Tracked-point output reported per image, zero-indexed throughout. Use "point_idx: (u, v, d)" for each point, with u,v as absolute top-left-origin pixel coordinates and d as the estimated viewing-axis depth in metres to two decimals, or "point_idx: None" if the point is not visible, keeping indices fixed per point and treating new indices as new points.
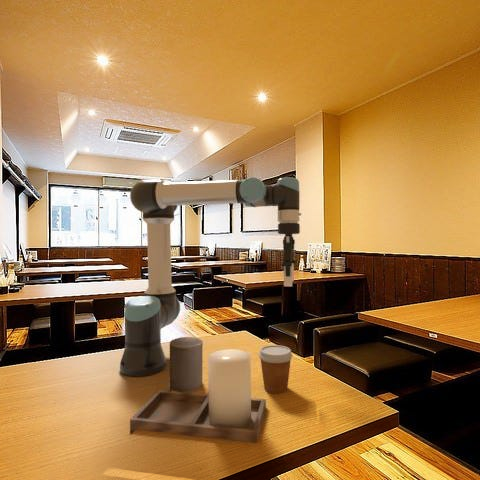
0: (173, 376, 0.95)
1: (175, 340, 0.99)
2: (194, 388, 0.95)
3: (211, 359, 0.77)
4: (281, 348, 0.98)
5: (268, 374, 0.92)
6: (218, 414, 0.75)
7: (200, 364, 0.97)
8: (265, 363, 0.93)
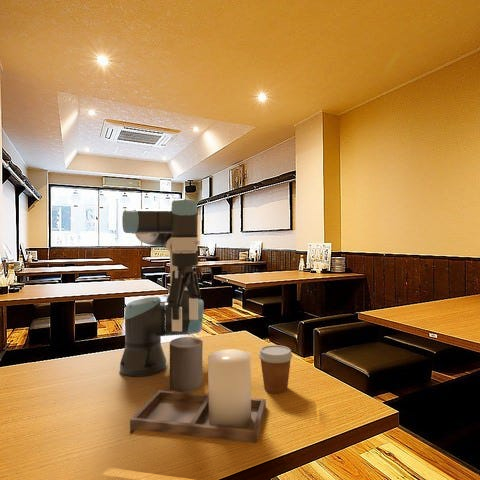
0: (173, 376, 0.95)
1: (175, 340, 0.99)
2: (194, 388, 0.95)
3: (211, 359, 0.77)
4: (281, 348, 0.98)
5: (268, 374, 0.92)
6: (218, 414, 0.75)
7: (200, 364, 0.97)
8: (265, 363, 0.93)
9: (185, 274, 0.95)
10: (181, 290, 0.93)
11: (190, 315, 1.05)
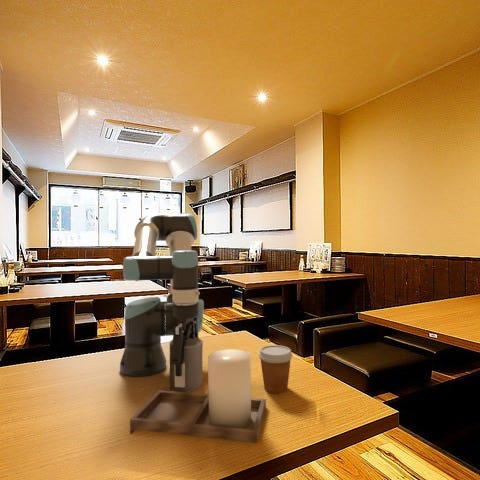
0: (173, 376, 0.95)
1: None
2: (194, 388, 0.95)
3: (211, 359, 0.77)
4: (281, 348, 0.98)
5: (268, 374, 0.92)
6: (218, 414, 0.75)
7: (200, 364, 0.97)
8: (265, 363, 0.93)
9: (186, 326, 0.96)
10: (183, 345, 0.94)
11: None
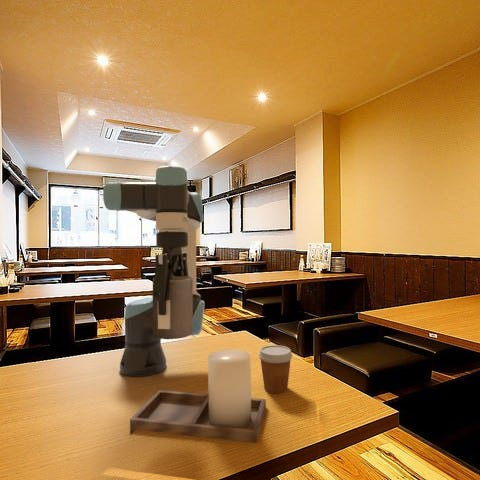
0: (157, 316, 0.78)
1: None
2: (182, 331, 0.78)
3: (211, 359, 0.77)
4: (281, 348, 0.98)
5: (268, 374, 0.92)
6: (218, 414, 0.75)
7: (189, 304, 0.80)
8: (265, 363, 0.93)
9: (172, 257, 0.79)
10: (168, 279, 0.77)
11: None
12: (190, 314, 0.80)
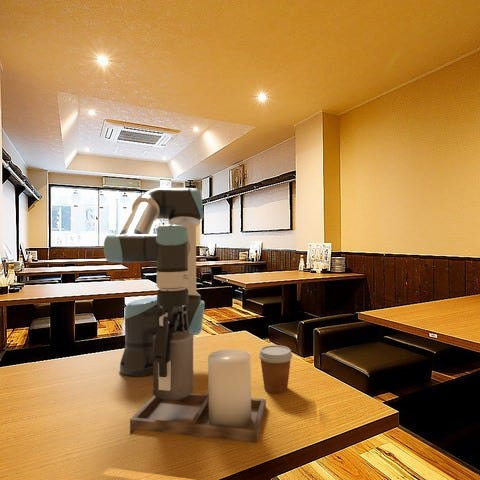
0: (157, 376, 0.78)
1: None
2: (182, 391, 0.78)
3: (211, 359, 0.77)
4: (281, 348, 0.98)
5: (268, 374, 0.92)
6: (218, 414, 0.75)
7: (190, 362, 0.80)
8: (265, 363, 0.93)
9: (172, 316, 0.79)
10: (169, 339, 0.77)
11: None
12: (191, 372, 0.80)
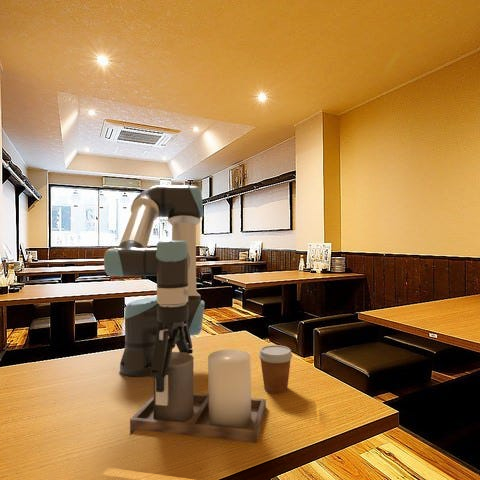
0: None
1: None
2: (183, 415, 0.78)
3: (211, 359, 0.77)
4: (281, 348, 0.98)
5: (268, 374, 0.92)
6: (218, 414, 0.75)
7: (190, 386, 0.80)
8: (265, 363, 0.93)
9: (172, 332, 0.79)
10: (167, 354, 0.76)
11: None
12: (191, 396, 0.80)
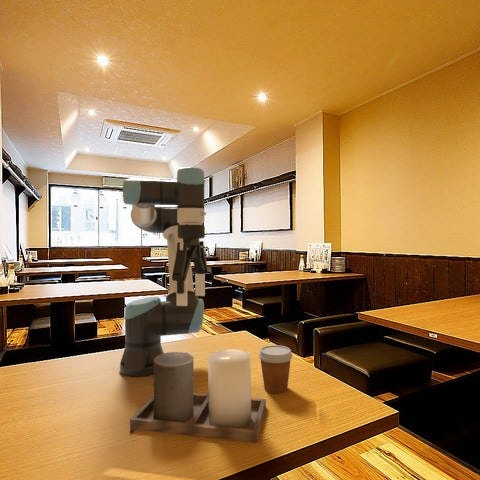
0: (158, 401, 0.78)
1: (161, 356, 0.83)
2: (183, 415, 0.78)
3: (211, 359, 0.77)
4: (281, 348, 0.98)
5: (268, 374, 0.92)
6: (218, 414, 0.75)
7: (190, 386, 0.80)
8: (265, 363, 0.93)
9: (191, 247, 0.91)
10: (186, 263, 0.88)
11: (196, 291, 1.00)
12: (191, 396, 0.80)
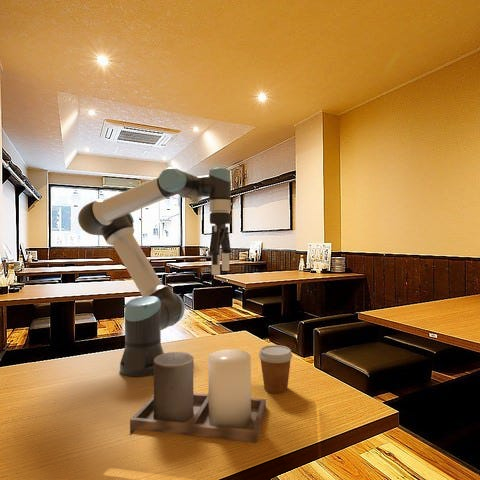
0: (158, 401, 0.78)
1: (161, 356, 0.83)
2: (183, 415, 0.78)
3: (211, 359, 0.77)
4: (281, 348, 0.98)
5: (268, 374, 0.92)
6: (218, 414, 0.75)
7: (190, 386, 0.80)
8: (265, 363, 0.93)
9: (221, 229, 1.16)
10: (219, 242, 1.14)
11: (222, 267, 1.26)
12: (191, 396, 0.80)
